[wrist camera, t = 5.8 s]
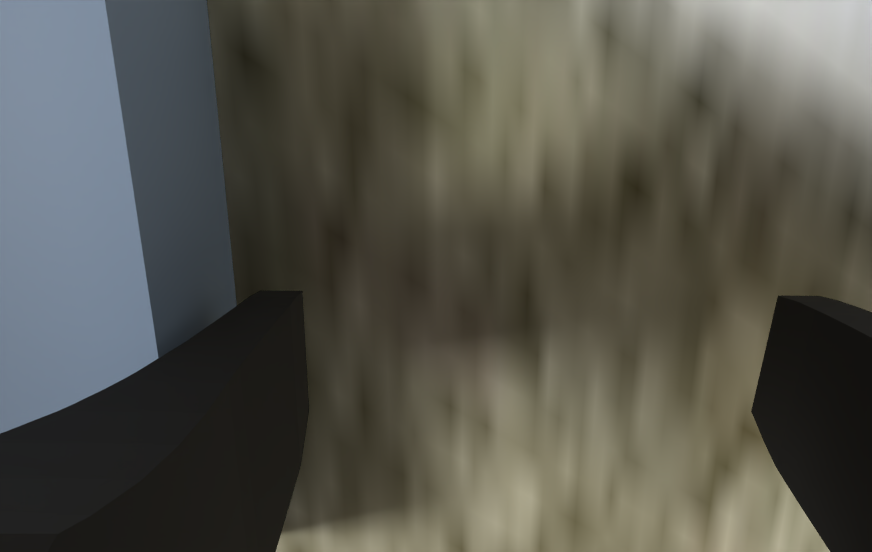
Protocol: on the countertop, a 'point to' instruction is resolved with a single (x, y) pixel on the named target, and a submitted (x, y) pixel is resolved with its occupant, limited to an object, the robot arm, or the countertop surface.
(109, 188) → the blue-grey rectangular block
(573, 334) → the countertop surface
